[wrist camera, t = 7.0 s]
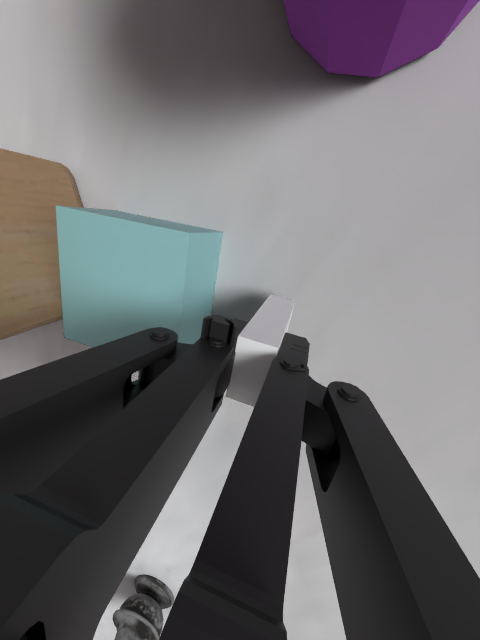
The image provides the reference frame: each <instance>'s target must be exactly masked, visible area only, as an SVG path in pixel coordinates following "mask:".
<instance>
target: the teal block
mask: <svg viewBox="0 0 480 640" xmlns="http://www.w3.org/2000/svg"><path fill="white" fill-rule="evenodd" d="M56 219H57V235H58V250H59V266H60V281H61V297H62V312H63V328H64V338H67V339H70V340H73V341H76V342H79V343H82V344H85V345H88V346H91V347H96V346H99V345H102V344H105V343H108V342H111V341H114V340H117V339H120V338H122V337H125V336H128V335H131V334H134V333H137V332H140V331H143V330H145V329H149V328H158V327H163V328H168V329H170V330H173V331H174V332H176V333H177V335H178V342H179V343H186V344H194V343H195V342H196V341H197V340H198V339H200V337H201V331H202V324H203V318H204V317H207V316H211V312H212V305H213V298H214V291H215V284H216V276H217V269H218V262H219V255H220V248H221V241H222V234H223V232H220V231H215V230H210V229H205V228H200V227H195V226H190V225H185V224H180V223H175V222H170V221H165V220H160V219H155V218H150V217H145V216H140V215H135V214H130V213H125V212H120V211H114V210H103V209H91V208H79V207H68V206H56Z"/></svg>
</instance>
